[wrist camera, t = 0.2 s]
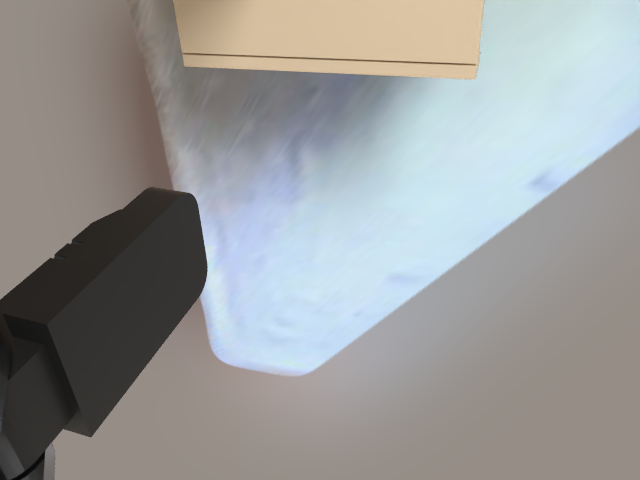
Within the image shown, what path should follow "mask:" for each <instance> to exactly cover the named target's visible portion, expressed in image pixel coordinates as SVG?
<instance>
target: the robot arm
mask: <svg viewBox="0 0 640 480" xmlns="http://www.w3.org/2000/svg"><path fill="white" fill-rule="evenodd" d="M206 277H207V259H206V252H205V246H204V240H203V234H202V227H201V221H200V215H199V209H198V204H197V201H196V199H195V197H194V196H193V195H192V194H190V193H185V192H179V191H173V190H167V189H161V188H155V187H150V188H147V189H146V190H144V191H143V192H142V193H141V194H140V195H138V196H137V197H136V198H135V199H134V200H133V201H131V202H130V203H129V204H128V205H127V206H126V207H125V208H124V209H122V210H118V211H116V212H114V213H112V214H109V215H108V216H105V217H103V218H101V219H99V220H97V221H95V222H93V223H91V224H90V225H89V226H88V227H87V228H85V229H84V230H83V231H82V232H81V233H79V234H78V235H77V236H76V237H75V238H74V239H72V243H71V244H66V245H65V246H64V247H63V248H62V249H60V250H59V251H58V252H57V253H56V254H55V257H54V259H53V258H50V259H48V260H47V261H46V262H45V263H44V264H42V265H41V266H40V267H39V268H38V269H36V270H35V271H34V272H33V273H32V274H30V275H29V276H28V277H27V278H26V279H24V280H23V281H22V282H21V283H20V284H19V285H17V286H16V287H15V288H14V289H13V290H11V291H10V292H9V293H8V294H7V295H5V296H4V297H3V298H2V299H1V300H0V480H54V475H55V450H54V447H53V444H52V441H53V440H54V439H55V438H56V437H57V435H58V434H59V433H60V432H61V431H62V429H65V430H69V431H72V432H75V433H78V434H82V435H85V436H88V437H92V436H93V434H94V433H95V432H96V430H97V429H98V428H99V426H100V425H101V424H102V422H103V421H104V420H105V419H106V417H107V416H108V414H109V413H110V412H111V411H112V409H113V408H114V407H115V405H116V404H117V403H118V402H119V400H120V399H121V398H122V396H123V395H124V394H125V393H126V391H127V390H128V389H129V387H130V386H131V385H132V383H133V382H134V381H135V379H136V378H137V377H138V376H139V374H140V373H141V372H142V370H143V369H144V368H145V367H146V365H147V364H148V363H149V361H150V360H151V359H152V357H153V356H154V355H155V353H156V352H157V351H158V349H159V348H160V347H161V346H162V344H163V343H164V342H165V340H166V339H167V338H168V337H169V335H170V334H171V333H172V331H173V330H174V329H175V327H176V326H177V325H178V324H179V322H180V321H181V320H182V318H183V317H184V316H185V314H186V313H187V312H188V310H189V309H190V308H191V307H192V305H193V304H194V303H195V301H196V300H197V298H198V297H199V296H200V294H201V292H202V290H203V288H204V285H205V282H206Z"/></svg>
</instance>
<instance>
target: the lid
mask: <svg viewBox="0 0 640 480" xmlns="http://www.w3.org/2000/svg"><path fill="white" fill-rule="evenodd" d="M173 4H174V10H175V16H176V22H177V27H178V33H179V39H180V45H181V51H182V53H185V54H183V55H182V56H183V62H184V66H186V67H208V68H231V69H253V70H275V71H297V72H319V73H342V74H364V75H386V76H408V77H430V78H453V79H476V75H477V71H478V67H479V61H480V52H479V47H480V37H481V28H482V18H483V8H484V0H173Z"/></svg>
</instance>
